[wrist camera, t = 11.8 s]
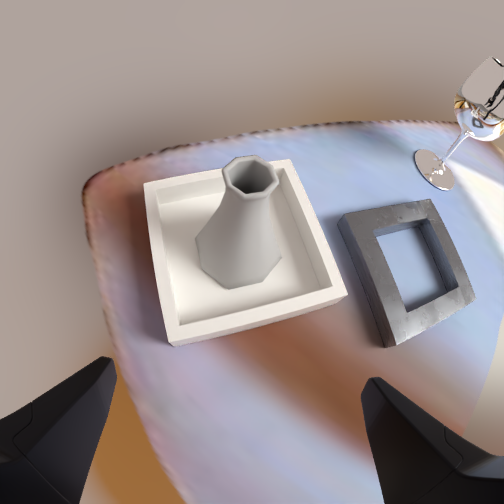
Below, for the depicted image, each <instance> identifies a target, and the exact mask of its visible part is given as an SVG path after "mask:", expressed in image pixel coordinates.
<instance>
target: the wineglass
mask: <svg viewBox="0 0 504 504" xmlns="http://www.w3.org/2000/svg"><path fill="white" fill-rule="evenodd" d="M454 110H455V114H456V118H457V121H458V123H459V125H460V127H461V132H460V134H459V136H458V138H457V139H456V141H455V142H454V143H453V145H452V146H451V147H450V148H449V150H448V151H447V152H446V153H445V155H444V156H443V157H442V158H440V157H439V156H438V155H436V154H435V153H433V152H431V151H428V150H424V149H421V150H418V151H417V152H416V154H415V162H416V165H417V167H418V169H419V170H420V172H421V173H422V175H423V176H424V177H425V178H426V179H427V180H428V181H429V182H430V183H431V184H432V185H434V186H435V187H437V188H439V189H441V190H444V191H449V190H451V189H453V187H454V177H453V174H452V172H451V170H450V168H449V167H448V165H447V164H446V163H445V161H446V160H447V159H448V157H449V156H450V155H451V154H452V153H453V151H454V150H455V149H456V148H457V146H458V145H459V144H460V143H461V142H462V141H463V140H464V139H465V138H467V137H468V136H470V137H472V138H474V139H477V140H481V141H492V140H495V139H497V138H499V137H500V136H501V135H502V134H503V133H504V65H503V64H501V63H500V62H499V61H497V60H496V59H495V58H493V57H492V56H490V57H489V58H488V59H487V60H486V61H485V62H483V63H482V64H481V65H480V66H479V67H478V68H477V69H476V70H475V71H474V72H473V73H472V74H471V75H470V76H469V77H468V78H467V79H466V80H465V81H464V83H463V84H462V85H461V86H460V88H459V89H458V91H457V93H456V96H455V101H454Z"/></svg>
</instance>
